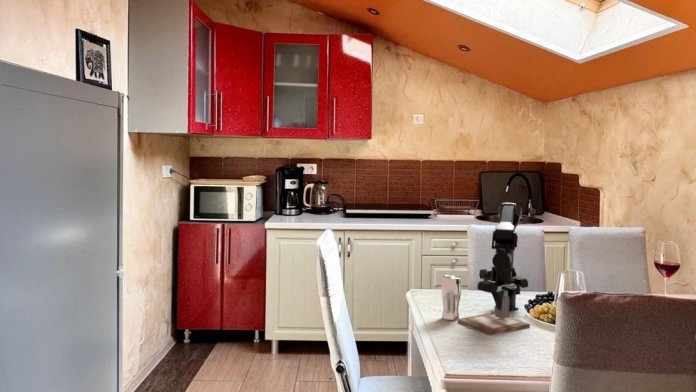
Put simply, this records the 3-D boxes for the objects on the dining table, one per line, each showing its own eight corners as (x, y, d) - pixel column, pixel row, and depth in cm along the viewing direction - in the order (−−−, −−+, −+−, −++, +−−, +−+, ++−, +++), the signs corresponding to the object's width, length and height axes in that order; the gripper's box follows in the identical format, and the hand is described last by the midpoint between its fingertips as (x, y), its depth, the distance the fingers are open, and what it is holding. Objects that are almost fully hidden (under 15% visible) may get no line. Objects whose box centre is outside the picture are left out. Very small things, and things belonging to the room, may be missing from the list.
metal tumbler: (460, 321, 201) (461, 279, 200) (440, 320, 203) (441, 278, 201) (460, 316, 208) (461, 275, 207) (441, 315, 209) (442, 274, 208)
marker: (509, 317, 199) (509, 291, 199) (501, 318, 198) (502, 292, 197) (502, 314, 202) (502, 289, 202) (494, 316, 201) (495, 290, 200)
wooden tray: (496, 315, 209) (496, 309, 209) (529, 327, 195) (530, 320, 195) (457, 322, 201) (457, 316, 200) (490, 335, 187) (490, 328, 186)
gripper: (506, 258, 210) (505, 300, 211) (467, 262, 201) (466, 306, 202) (529, 263, 200) (528, 307, 202) (489, 268, 191) (488, 314, 192)
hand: (502, 308), depth 200 cm, fingers closed on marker, 3 cm apart
